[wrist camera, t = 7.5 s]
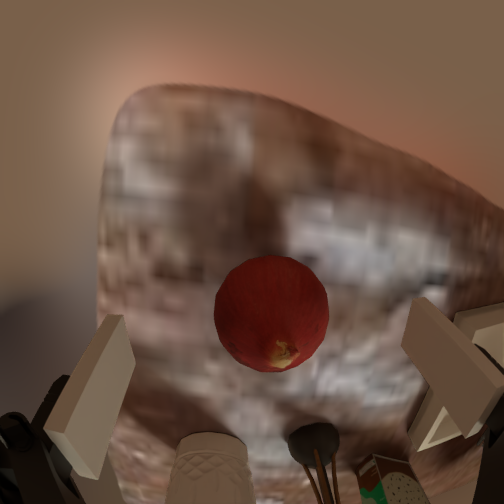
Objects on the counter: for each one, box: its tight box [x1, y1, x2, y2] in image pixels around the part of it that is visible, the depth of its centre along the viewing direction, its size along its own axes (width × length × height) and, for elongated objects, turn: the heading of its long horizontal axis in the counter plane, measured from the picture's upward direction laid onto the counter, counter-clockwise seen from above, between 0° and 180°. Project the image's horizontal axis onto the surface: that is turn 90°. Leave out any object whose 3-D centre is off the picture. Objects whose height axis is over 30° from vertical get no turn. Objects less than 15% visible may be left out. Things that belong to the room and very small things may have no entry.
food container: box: [356, 453, 430, 504], centre depth 24 cm, size 12×6×10 cm, turn 52°
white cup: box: [165, 432, 256, 504], centre depth 20 cm, size 8×8×10 cm
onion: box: [214, 255, 329, 372], centre depth 15 cm, size 6×6×8 cm
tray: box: [407, 302, 504, 452], centre depth 23 cm, size 18×16×3 cm
